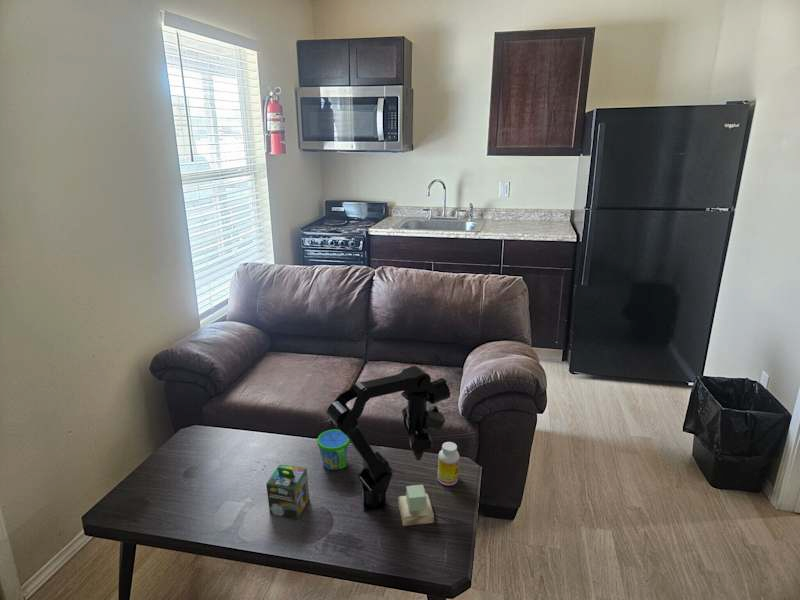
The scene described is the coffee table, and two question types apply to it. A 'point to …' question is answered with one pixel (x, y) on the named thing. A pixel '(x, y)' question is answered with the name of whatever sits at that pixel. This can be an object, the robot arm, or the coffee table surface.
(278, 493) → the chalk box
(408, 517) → the oak riser block
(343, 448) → the snack cup
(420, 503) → the sage cube
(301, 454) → the coffee table surface
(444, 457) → the supplement bottle
